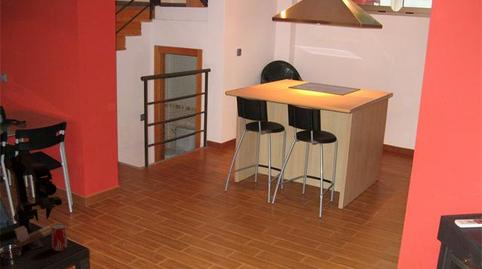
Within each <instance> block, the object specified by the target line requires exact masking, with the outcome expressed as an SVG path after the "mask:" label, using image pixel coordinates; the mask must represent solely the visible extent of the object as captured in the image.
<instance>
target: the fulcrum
mask: <svg viewBox="0 0 482 269" xmlns="http://www.w3.org/2000/svg"><path fill="white" fill-rule="evenodd" d="M26 245H27V246H28V247H29V249H30V250H35V249H40V248H43V247H44V246H45V245H44V244H43V242H42V241H41V240H40V239H37V240H35V241H33V242H30V243H28V244H26Z"/></svg>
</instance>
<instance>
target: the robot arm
mask: <svg viewBox="0 0 482 269" xmlns="http://www.w3.org/2000/svg"><path fill="white" fill-rule="evenodd" d="M28 154H29V153H26V152H24V153H18V154H16V155H14V156H13V157H11V158H9V159H8V161H7V163H6V165H7V168H8V172H10V173H11V175H12V176H13V180H14V185H15V190H16V191H15V192H16V198H17V201H18V202H17V205H16V208H15V214H14V215H13V221H14V222H16V223H18V224H17V226H18V227H17V228H19V227H21V226H25V228H26V229H27V232H28V233H29V232H33V229H32V228H31V222H30V220H33V219H34V218H35V219H36V221H37V222H38V221H39V215H38V209H37V207H40V210H45V215H46V216H45V217H46V219H47V220H49V217H50V215H51V212H52V210H53V209H54V208H56V206H61V205H63V200H62V199H61V198H60V197H59V196H54V195H55V194H56V192H57V189H58V188H57V186H56V184H54V183H53V181H52V180H53V174H52V173H51V171H50V168H49V167H48V165H46V164H45V163H38V162H37V161H36V160H34V159H33V158H32V157H30V156H29V155H28ZM26 169H27V170H29V171H30V175H31V176H32V181H34V182H33V183H34V184H33V185H34V193H33V194H34V203H31V202H30V201H29V198H28V192H27V187H26V182H25V175H24V173H25V171H26ZM49 196H52V197H49Z"/></svg>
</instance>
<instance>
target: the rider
mask: <svg viewBox="0 0 482 269" xmlns="http://www.w3.org/2000/svg"><path fill="white" fill-rule="evenodd" d="M13 231H14V233H15V235H16V238H17V239H18V241H19V242H20V243H22V242H24V241H27V240H29V239H30V238H29V232H27V229H26V228H25V226H21V227H19V228H18V227H17V228H15V229H14V230H13ZM17 239H16V240H17Z"/></svg>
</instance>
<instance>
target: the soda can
mask: <svg viewBox="0 0 482 269" xmlns="http://www.w3.org/2000/svg"><path fill="white" fill-rule="evenodd" d="M51 228H52V233H51V246H52V250H53V251H55V252H57V251H58V252H62V251H64V250H65V249H67V248H68V233H67V227H66V224H63V223H57V224H54V225H53V226H52V227H51Z"/></svg>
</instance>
